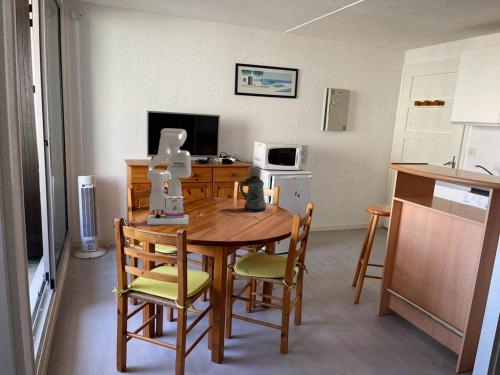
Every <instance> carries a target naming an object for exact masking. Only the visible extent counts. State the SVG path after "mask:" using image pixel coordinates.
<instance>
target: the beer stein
mask: <svg viewBox="0 0 500 375" xmlns="http://www.w3.org/2000/svg"><path fill="white" fill-rule="evenodd" d="M264 185H265V182H264V181H263V180H262V179H261V178H260V177H259V176H257V175H256V176H255V175H253V176H251V177H248V178H245V179H244V181H243V182H240V185H239V192H240V194H241V196H242V197H243V198H244V199H245V202H244V206H243V207H244V210H245V211H246V212H250V213H263V212H266V209H267V203H266V200H265V191H264ZM245 186H246V187H247V193H245V192H244V190H243V188H244V187H245Z"/></svg>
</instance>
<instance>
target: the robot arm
mask: <svg viewBox="0 0 500 375" xmlns="http://www.w3.org/2000/svg"><path fill="white" fill-rule="evenodd" d="M187 136H188V134H187V131H186V130H185V129H183V128H162V129H161V131H160V138H159V145H158V150H157V154H156V155H155V156H154V157H152V159H151V160H150V162H149V163H148V167H147V172H146V176H147V180H149V181H151V193H150V194H149V202H148V203H149V204H148V206H149V209H148V211H149V212H151V213H153V215H155V218H161V215H162V214H163V213H166V212H165V198H166V197H167V196H182V183H181V182H182V181H180V179H182V178H183V179H186V178H187V179H188V178H190V177H191V175H192V166H191V165H192V159H191V153H190V152H189V151H188V150H181V149H180V147H183V145H184V143H185V142H186V139H187ZM167 160H168V162H169V163H171V164H168V166H167V167H166V169H155V167H156V166H157V165H158V164H160V163H163V162H164V161H167ZM179 178H180V179H179ZM166 182H167V189H166V188H165V183H166ZM166 192H167V195H166Z"/></svg>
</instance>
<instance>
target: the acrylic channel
mask: <svg viewBox="0 0 500 375" xmlns="http://www.w3.org/2000/svg"><path fill="white" fill-rule="evenodd" d="M146 220H147V221H146V222H147V224H146V225H189V215H188V214H184V218H166V214H161V218H155V214H152V215H151V214H148V216H147V219H146Z"/></svg>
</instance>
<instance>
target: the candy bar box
mask: <svg viewBox="0 0 500 375" xmlns="http://www.w3.org/2000/svg"><path fill="white" fill-rule="evenodd" d="M184 204H185V203H184V196H182V195H181V196H168V195H166V198H165V212H164V213H165V215H166V218H184V215H185V214H184V208H185V206H184Z"/></svg>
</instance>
